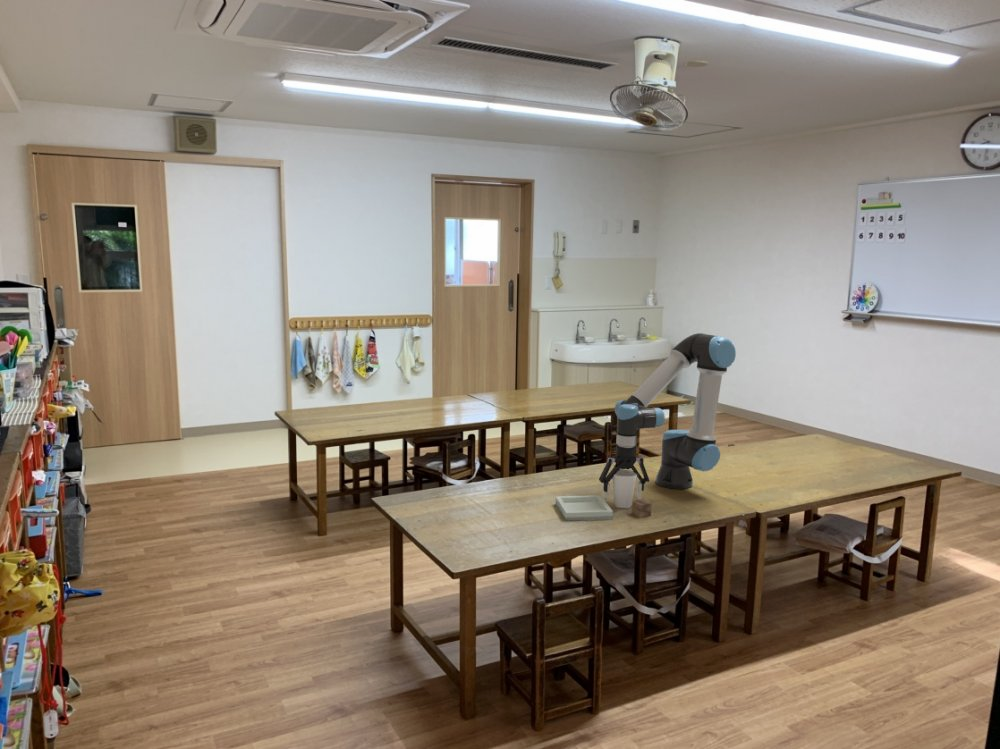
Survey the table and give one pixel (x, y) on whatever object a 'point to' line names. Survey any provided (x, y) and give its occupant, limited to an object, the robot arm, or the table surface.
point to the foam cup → (624, 488)
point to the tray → (583, 508)
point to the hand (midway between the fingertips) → (623, 499)
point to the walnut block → (641, 508)
